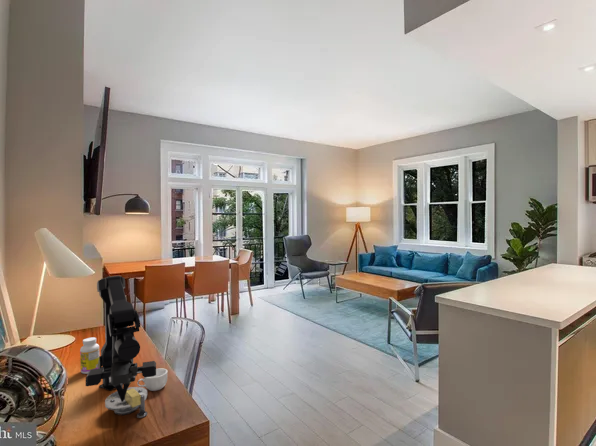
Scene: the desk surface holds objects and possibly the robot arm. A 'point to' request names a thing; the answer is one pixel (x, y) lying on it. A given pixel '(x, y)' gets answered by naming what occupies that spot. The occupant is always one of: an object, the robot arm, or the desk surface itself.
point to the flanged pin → (142, 407)
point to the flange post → (126, 411)
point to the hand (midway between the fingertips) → (122, 401)
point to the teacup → (155, 380)
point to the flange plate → (118, 402)
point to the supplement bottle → (89, 355)
